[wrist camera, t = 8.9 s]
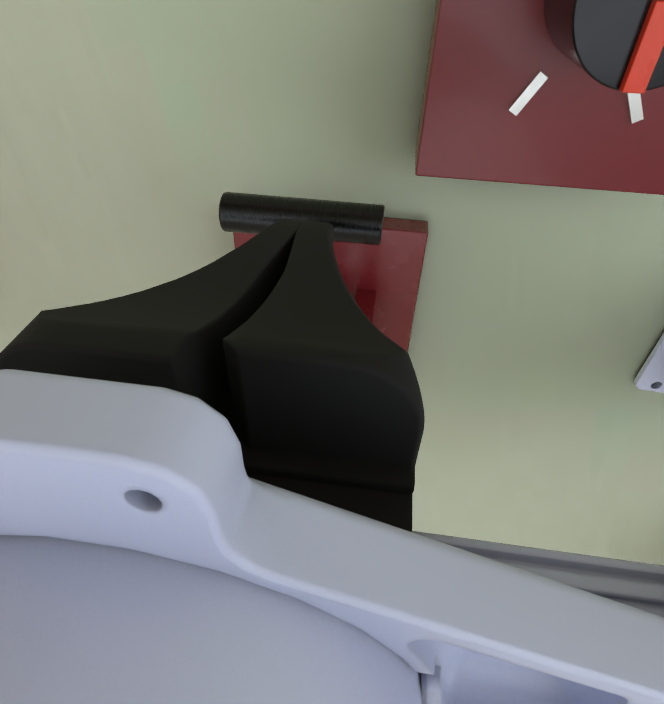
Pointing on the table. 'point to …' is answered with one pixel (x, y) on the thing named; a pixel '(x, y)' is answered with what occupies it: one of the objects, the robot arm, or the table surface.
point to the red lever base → (382, 274)
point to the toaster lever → (302, 215)
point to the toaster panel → (529, 108)
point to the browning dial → (611, 40)
